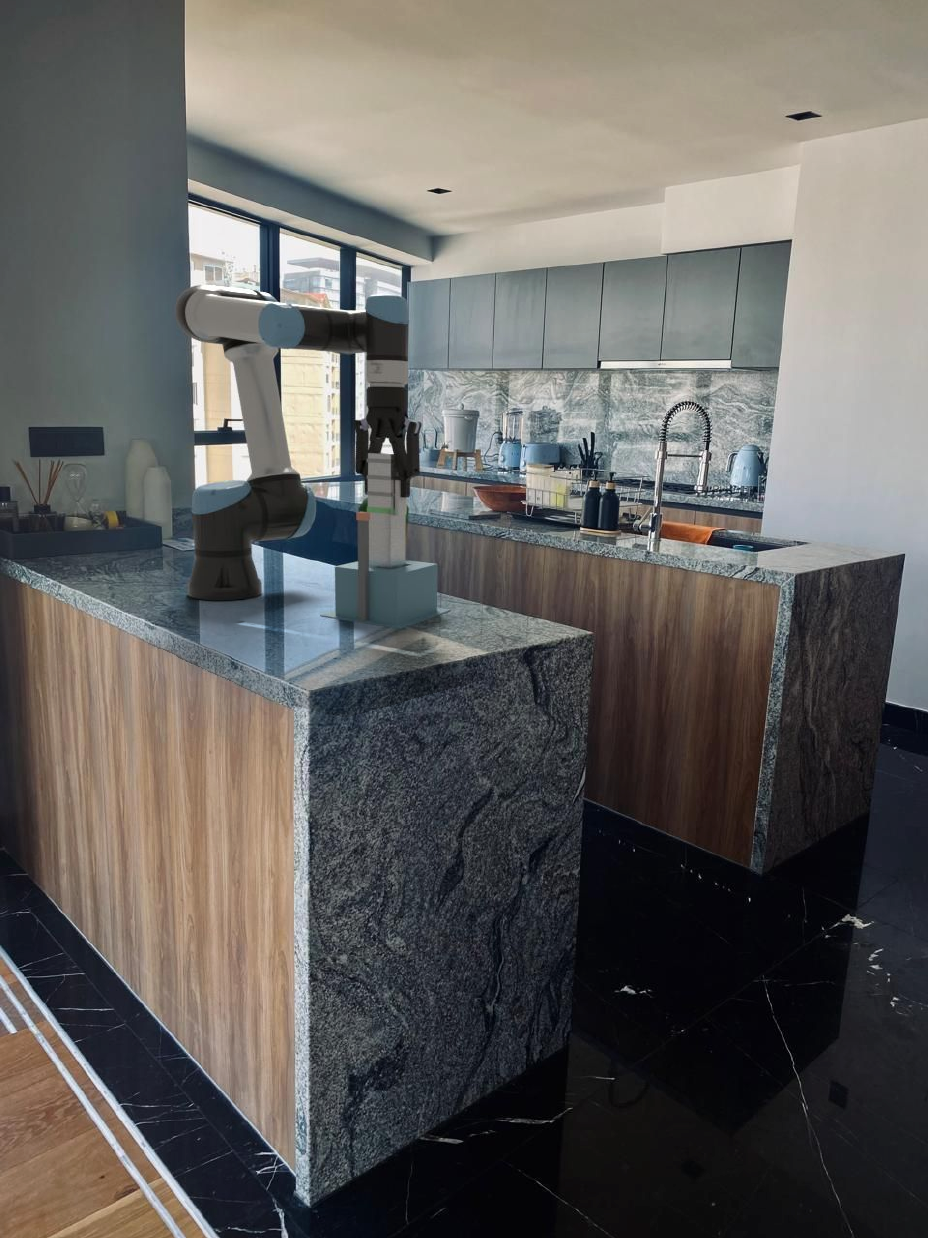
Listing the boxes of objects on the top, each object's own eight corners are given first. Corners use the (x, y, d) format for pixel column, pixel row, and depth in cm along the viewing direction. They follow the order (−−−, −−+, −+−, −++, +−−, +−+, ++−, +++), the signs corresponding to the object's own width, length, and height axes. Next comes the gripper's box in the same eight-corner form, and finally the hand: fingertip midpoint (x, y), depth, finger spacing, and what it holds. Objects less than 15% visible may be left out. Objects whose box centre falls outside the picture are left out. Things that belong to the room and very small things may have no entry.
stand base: (320, 619, 165) (318, 509, 161) (375, 602, 181) (375, 501, 176) (400, 632, 157) (400, 516, 152) (450, 613, 172) (452, 508, 167)
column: (367, 571, 166) (366, 453, 161) (383, 567, 170) (383, 452, 165) (390, 574, 163) (391, 454, 158) (406, 570, 168) (407, 453, 163)
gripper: (333, 384, 160) (335, 512, 165) (419, 385, 151) (418, 519, 157) (358, 386, 166) (358, 508, 172) (441, 386, 158) (439, 515, 163)
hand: (387, 513), depth 164 cm, fingers closed on column, 5 cm apart
